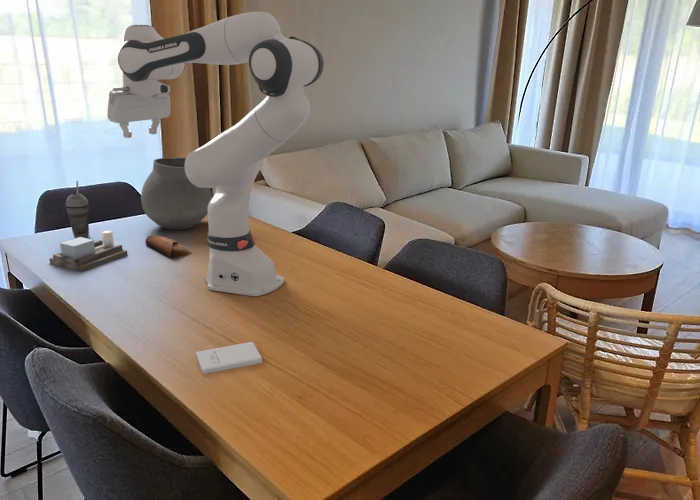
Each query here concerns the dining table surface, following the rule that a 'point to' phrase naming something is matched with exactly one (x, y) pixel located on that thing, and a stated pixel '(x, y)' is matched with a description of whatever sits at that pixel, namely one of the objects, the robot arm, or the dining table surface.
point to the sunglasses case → (167, 246)
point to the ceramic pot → (173, 196)
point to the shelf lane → (90, 258)
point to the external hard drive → (228, 357)
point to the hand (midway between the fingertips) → (140, 135)
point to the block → (85, 246)
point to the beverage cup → (78, 214)
